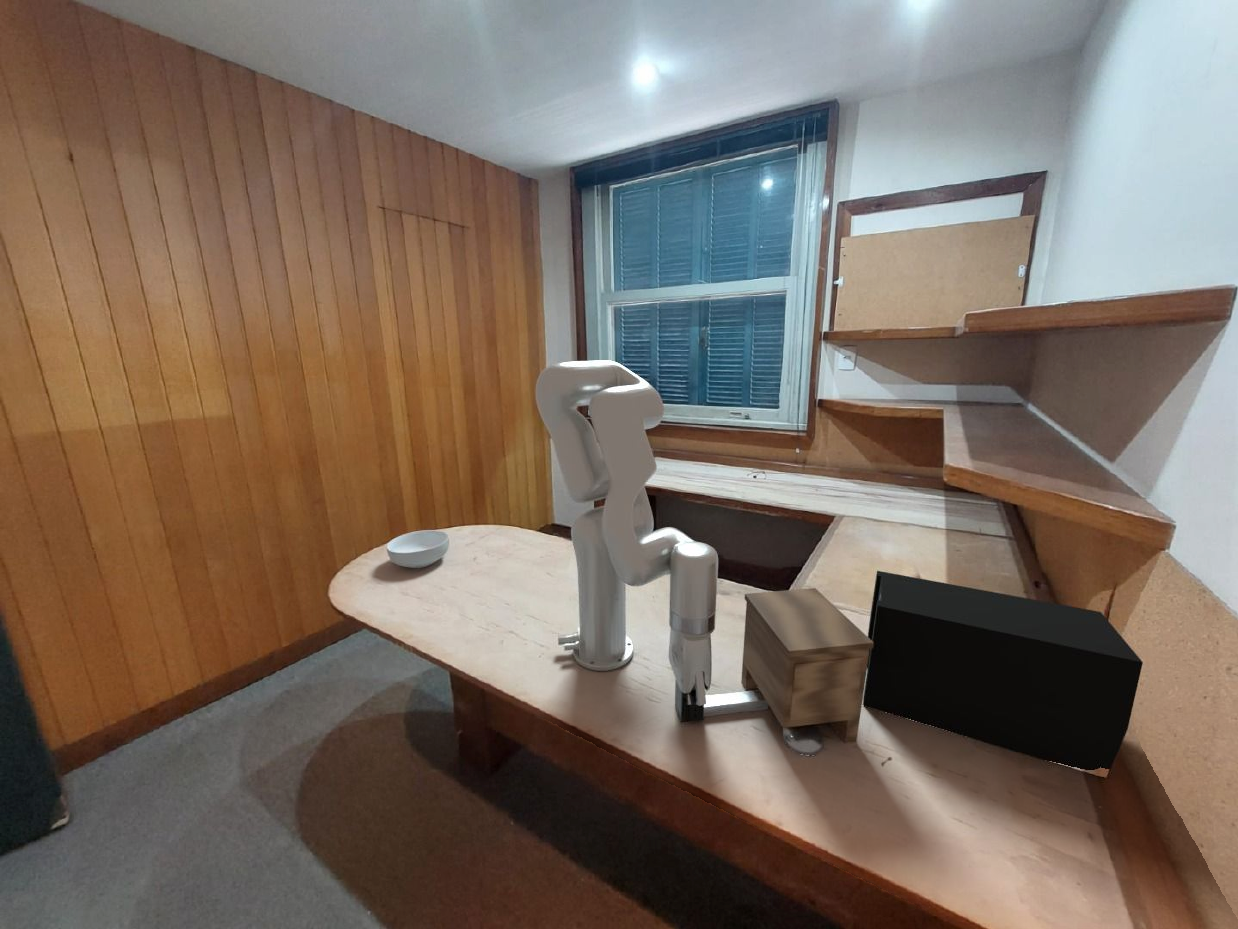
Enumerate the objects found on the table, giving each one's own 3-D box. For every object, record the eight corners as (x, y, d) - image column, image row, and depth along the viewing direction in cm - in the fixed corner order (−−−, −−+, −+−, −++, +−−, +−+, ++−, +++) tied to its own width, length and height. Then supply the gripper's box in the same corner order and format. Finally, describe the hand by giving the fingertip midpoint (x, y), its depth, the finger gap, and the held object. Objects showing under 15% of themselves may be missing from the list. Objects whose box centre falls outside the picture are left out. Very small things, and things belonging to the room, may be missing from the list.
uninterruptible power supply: (864, 657, 97) (877, 567, 92) (1082, 713, 82) (1111, 610, 77) (862, 710, 83) (877, 609, 78) (1125, 790, 68) (1164, 671, 63)
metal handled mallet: (680, 723, 81) (681, 688, 79) (674, 705, 85) (675, 672, 83) (769, 712, 83) (772, 678, 81) (760, 695, 87) (762, 662, 85)
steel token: (803, 763, 73) (804, 756, 73) (774, 735, 78) (775, 728, 78) (830, 747, 76) (831, 739, 75) (800, 721, 81) (801, 714, 81)
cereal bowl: (439, 545, 152) (437, 525, 151) (459, 563, 140) (457, 541, 138) (382, 561, 142) (379, 539, 140) (398, 581, 130) (395, 558, 128)
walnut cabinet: (779, 753, 75) (789, 651, 70) (739, 681, 91) (744, 593, 86) (859, 743, 77) (873, 642, 72) (806, 673, 92) (815, 588, 88)
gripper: (658, 592, 86) (657, 679, 90) (683, 650, 70) (680, 752, 74) (699, 589, 87) (695, 675, 91) (732, 645, 71) (726, 746, 75)
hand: (689, 709), depth 83 cm, fingers closed on metal handled mallet, 4 cm apart
